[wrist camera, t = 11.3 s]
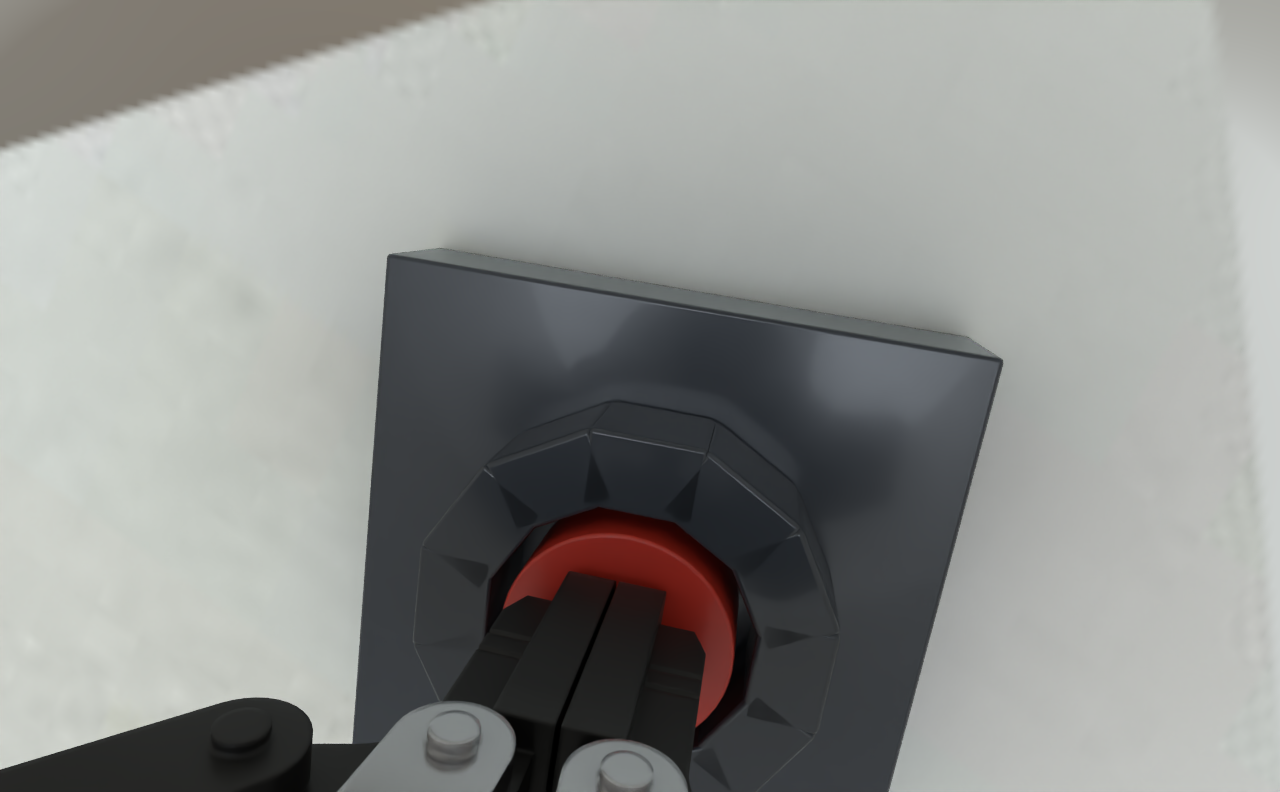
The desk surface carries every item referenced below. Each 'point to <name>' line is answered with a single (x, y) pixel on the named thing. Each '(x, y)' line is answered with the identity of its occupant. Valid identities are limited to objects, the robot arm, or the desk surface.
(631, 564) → the button
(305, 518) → the desk surface
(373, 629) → the button block
